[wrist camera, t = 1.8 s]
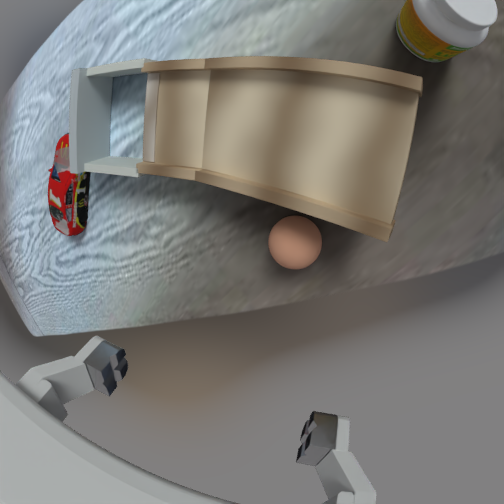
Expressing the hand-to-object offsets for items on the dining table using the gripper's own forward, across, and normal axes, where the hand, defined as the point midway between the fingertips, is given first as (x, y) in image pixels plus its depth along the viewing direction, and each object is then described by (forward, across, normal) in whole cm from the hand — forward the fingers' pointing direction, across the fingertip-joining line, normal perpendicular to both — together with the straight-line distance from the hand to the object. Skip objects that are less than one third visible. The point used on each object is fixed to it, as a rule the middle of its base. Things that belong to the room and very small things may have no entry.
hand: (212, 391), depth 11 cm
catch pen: (+18, +17, -9) cm, 26 cm away
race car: (+19, +26, 0) cm, 32 cm away
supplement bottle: (+17, -9, -21) cm, 28 cm away
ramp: (+18, +3, -9) cm, 20 cm away
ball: (+15, -1, 0) cm, 16 cm away
